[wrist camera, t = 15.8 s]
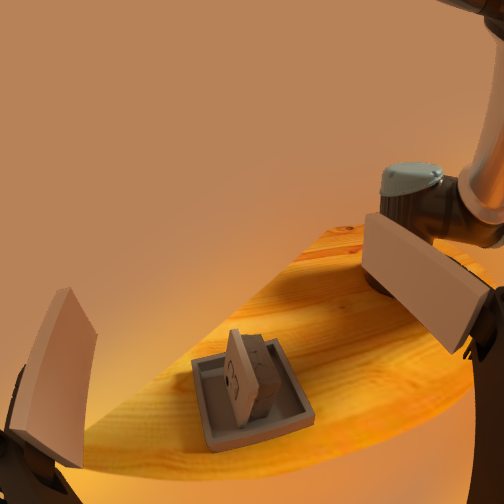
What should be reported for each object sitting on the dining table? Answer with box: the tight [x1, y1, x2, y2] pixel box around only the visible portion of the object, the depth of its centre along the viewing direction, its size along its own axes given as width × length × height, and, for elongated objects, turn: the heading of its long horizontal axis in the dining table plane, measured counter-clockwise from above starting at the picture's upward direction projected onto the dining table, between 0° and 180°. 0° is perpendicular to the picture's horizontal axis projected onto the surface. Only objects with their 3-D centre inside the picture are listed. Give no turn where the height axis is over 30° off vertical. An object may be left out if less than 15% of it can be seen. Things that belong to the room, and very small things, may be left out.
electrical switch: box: [223, 329, 282, 428], centre depth 30 cm, size 9×5×9 cm, turn 16°
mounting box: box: [191, 338, 315, 453], centre depth 32 cm, size 13×14×3 cm
